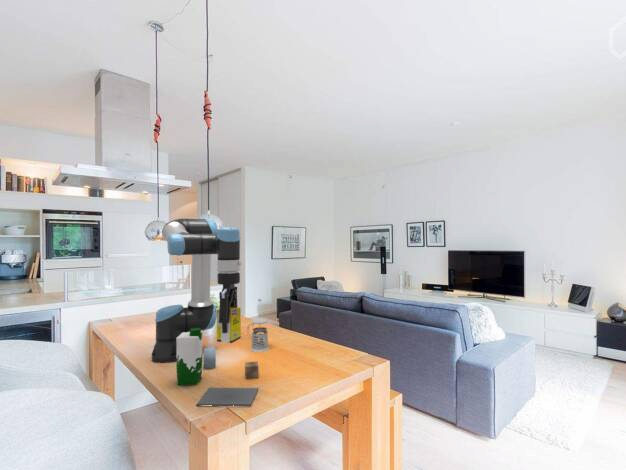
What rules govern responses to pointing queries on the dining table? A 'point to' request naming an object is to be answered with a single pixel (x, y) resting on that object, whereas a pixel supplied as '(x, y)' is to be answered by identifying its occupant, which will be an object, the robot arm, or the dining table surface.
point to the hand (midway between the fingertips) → (228, 338)
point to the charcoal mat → (228, 397)
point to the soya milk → (189, 357)
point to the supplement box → (231, 325)
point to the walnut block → (251, 370)
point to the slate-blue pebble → (209, 358)
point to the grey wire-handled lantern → (259, 335)
